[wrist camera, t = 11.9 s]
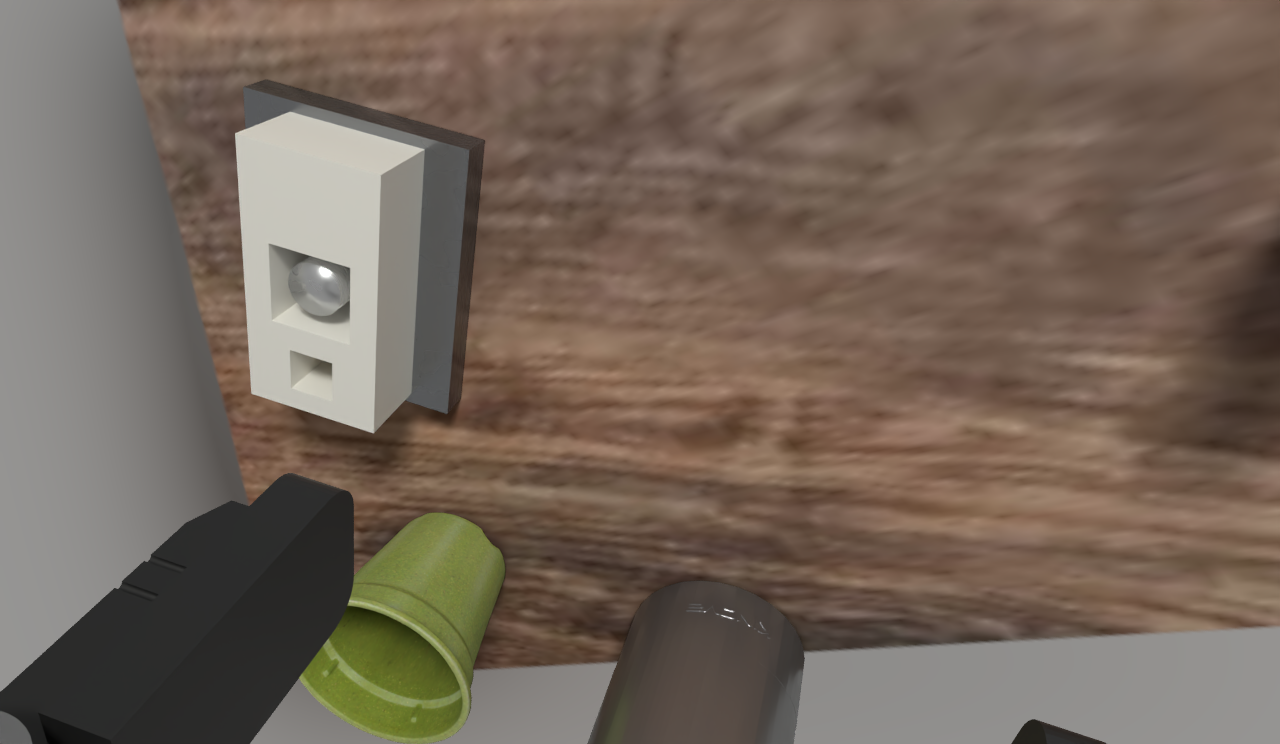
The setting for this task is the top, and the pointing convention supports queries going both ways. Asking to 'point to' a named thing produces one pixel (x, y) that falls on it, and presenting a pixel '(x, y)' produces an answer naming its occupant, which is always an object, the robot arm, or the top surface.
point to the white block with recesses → (339, 233)
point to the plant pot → (412, 633)
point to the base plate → (441, 233)
